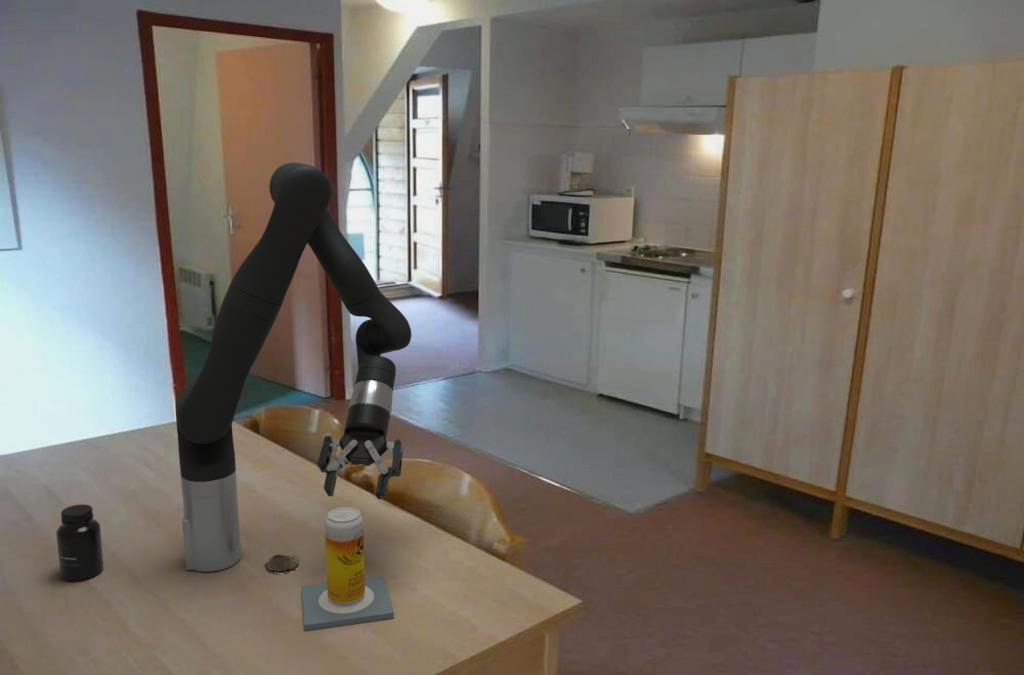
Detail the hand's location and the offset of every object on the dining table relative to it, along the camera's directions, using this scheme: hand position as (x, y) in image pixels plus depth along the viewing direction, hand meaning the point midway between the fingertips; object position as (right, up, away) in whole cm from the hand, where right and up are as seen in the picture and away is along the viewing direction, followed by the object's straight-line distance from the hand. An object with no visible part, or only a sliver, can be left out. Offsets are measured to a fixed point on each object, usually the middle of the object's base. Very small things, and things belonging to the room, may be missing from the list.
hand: (354, 496), depth 135 cm
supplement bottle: (-49, -15, +5) cm, 52 cm away
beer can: (-1, -16, -3) cm, 17 cm away
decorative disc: (-15, -15, +9) cm, 23 cm away
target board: (-1, -17, -3) cm, 18 cm away
